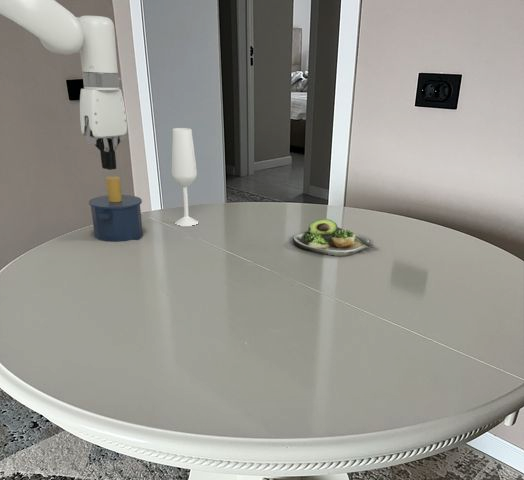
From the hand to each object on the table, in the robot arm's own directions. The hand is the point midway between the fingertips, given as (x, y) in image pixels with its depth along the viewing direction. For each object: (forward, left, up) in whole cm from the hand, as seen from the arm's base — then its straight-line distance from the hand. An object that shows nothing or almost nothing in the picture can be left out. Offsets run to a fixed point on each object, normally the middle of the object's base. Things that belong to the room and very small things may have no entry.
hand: (109, 168), depth 126 cm
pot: (0, 0, -17) cm, 17 cm away
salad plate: (+53, +2, -17) cm, 56 cm away
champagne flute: (+14, +15, -17) cm, 27 cm away
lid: (0, 0, -8) cm, 8 cm away
